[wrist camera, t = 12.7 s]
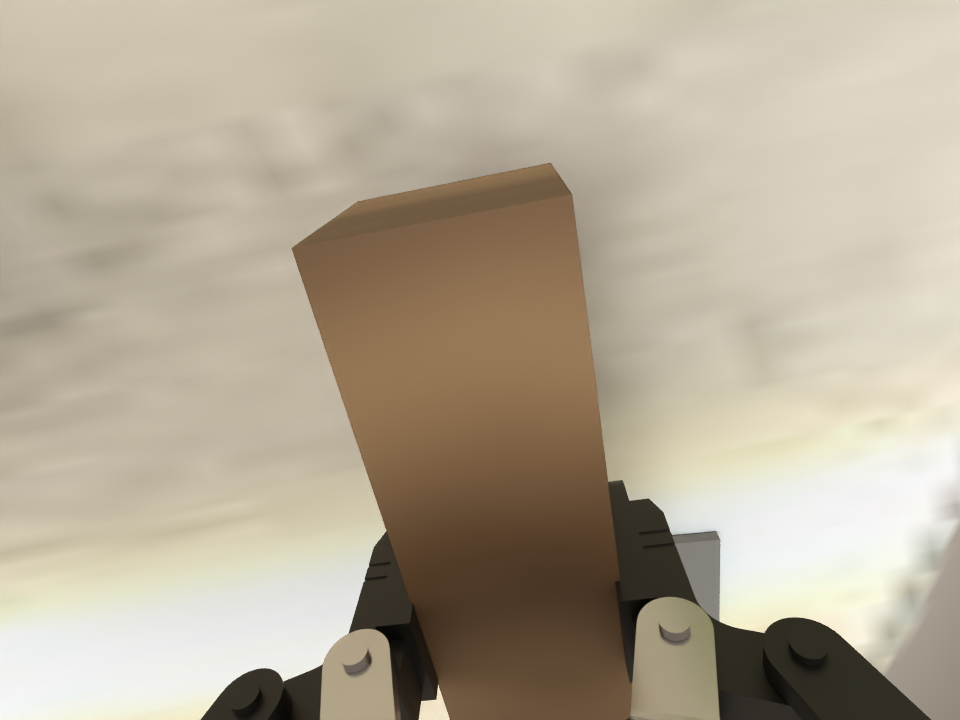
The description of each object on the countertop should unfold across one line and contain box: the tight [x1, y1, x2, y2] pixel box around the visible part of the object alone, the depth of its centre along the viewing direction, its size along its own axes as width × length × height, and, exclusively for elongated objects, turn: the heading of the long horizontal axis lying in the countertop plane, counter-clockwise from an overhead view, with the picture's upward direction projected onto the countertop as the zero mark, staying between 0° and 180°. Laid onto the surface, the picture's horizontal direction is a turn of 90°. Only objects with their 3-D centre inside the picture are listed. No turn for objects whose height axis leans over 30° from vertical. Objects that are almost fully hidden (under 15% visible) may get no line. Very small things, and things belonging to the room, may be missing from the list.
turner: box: [292, 163, 632, 720], centre depth 14 cm, size 21×6×4 cm, turn 11°
